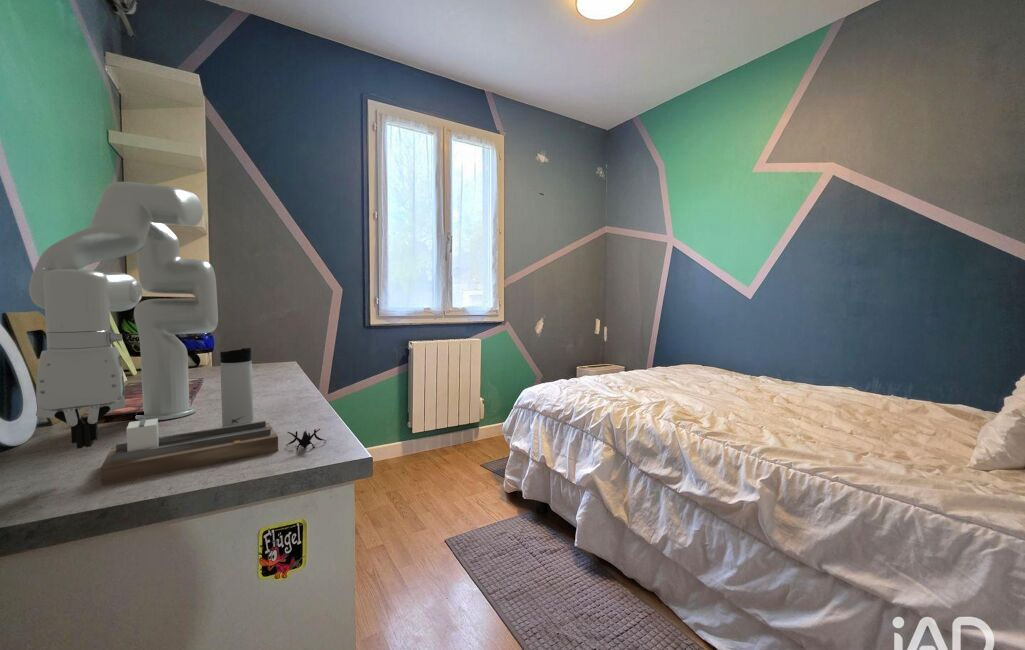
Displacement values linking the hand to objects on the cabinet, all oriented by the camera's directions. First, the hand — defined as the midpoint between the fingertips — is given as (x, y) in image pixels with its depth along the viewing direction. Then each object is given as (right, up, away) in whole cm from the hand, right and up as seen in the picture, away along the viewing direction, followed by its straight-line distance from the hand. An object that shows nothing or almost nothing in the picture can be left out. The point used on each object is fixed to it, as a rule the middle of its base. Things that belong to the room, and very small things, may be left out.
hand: (85, 445), depth 70 cm
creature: (+30, -6, +16) cm, 35 cm away
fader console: (+12, -5, +10) cm, 17 cm away
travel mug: (+8, -5, +28) cm, 29 cm away
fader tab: (+6, -2, +5) cm, 8 cm away
